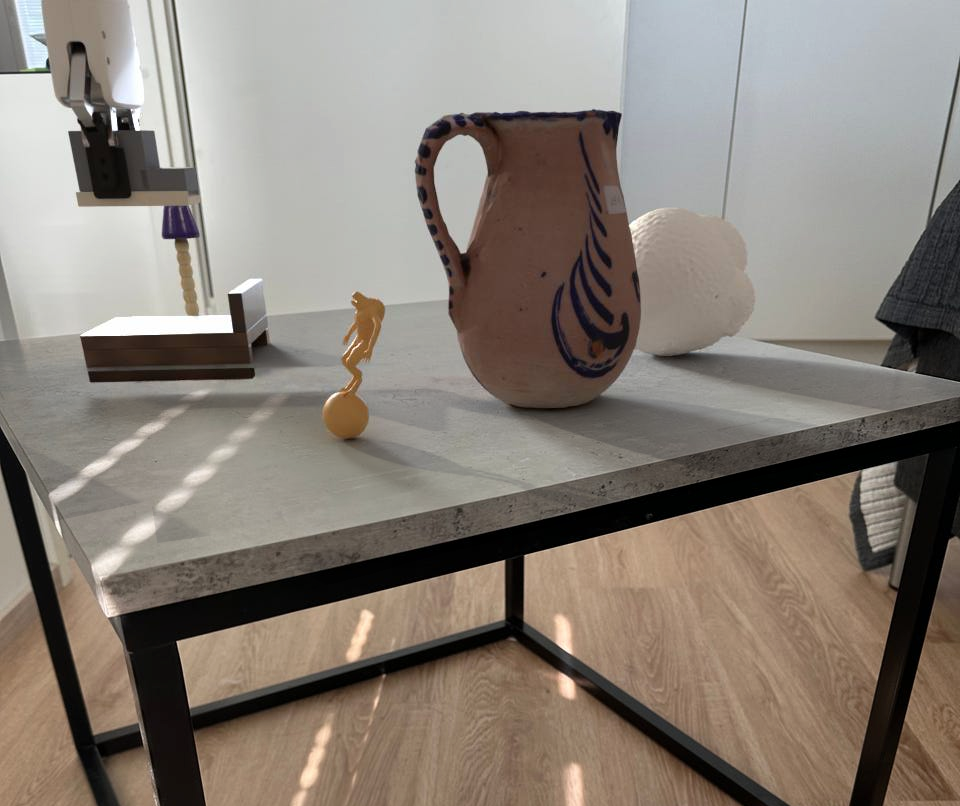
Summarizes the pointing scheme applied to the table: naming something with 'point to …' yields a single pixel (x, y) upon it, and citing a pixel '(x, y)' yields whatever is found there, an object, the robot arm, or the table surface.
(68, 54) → the robot arm
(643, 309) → the white lobed lump
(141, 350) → the wooden doll bed
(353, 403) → the figurine
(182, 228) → the toy lamp
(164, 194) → the trainer
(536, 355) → the ceramic pitcher
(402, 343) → the table surface
